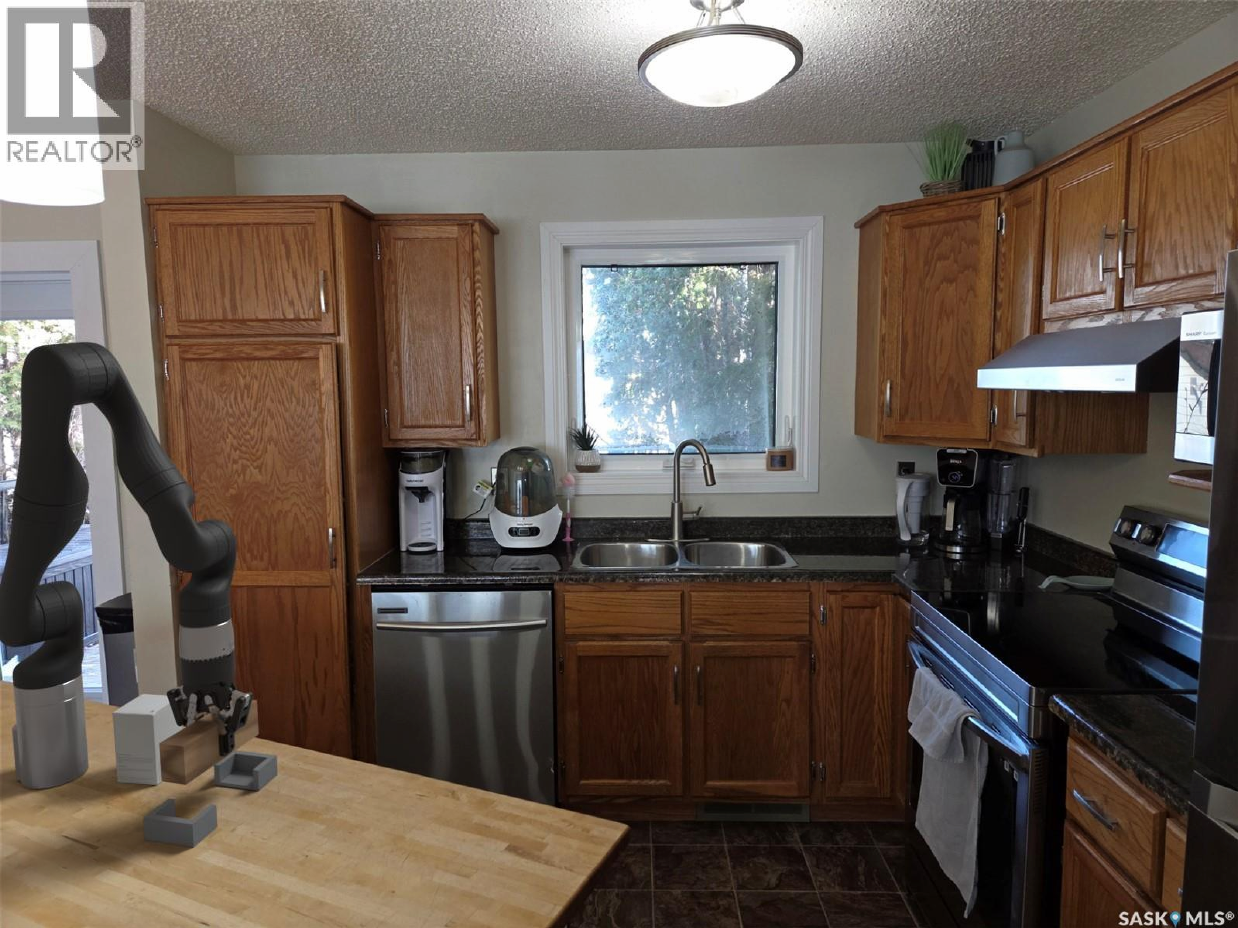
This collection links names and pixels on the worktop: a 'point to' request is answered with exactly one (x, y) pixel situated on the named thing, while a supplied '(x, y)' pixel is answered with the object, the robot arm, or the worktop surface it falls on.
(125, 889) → the worktop surface
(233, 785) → the endcap
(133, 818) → the worktop surface
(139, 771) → the supplement box
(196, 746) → the brown wooden bar
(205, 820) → the endcap
